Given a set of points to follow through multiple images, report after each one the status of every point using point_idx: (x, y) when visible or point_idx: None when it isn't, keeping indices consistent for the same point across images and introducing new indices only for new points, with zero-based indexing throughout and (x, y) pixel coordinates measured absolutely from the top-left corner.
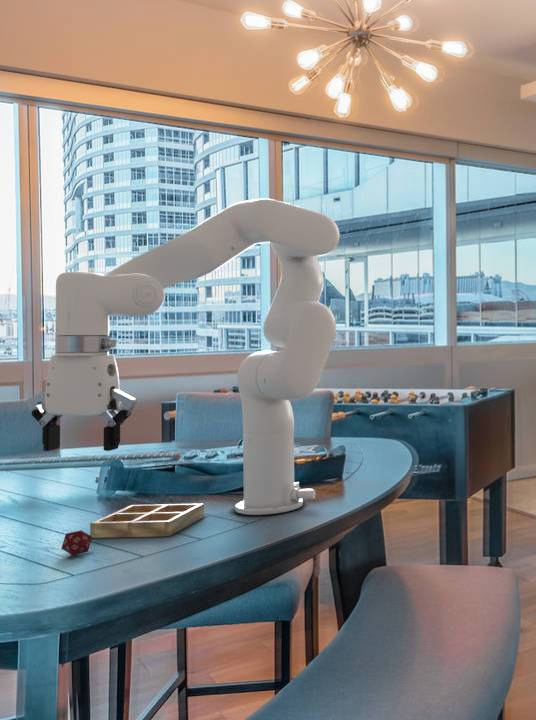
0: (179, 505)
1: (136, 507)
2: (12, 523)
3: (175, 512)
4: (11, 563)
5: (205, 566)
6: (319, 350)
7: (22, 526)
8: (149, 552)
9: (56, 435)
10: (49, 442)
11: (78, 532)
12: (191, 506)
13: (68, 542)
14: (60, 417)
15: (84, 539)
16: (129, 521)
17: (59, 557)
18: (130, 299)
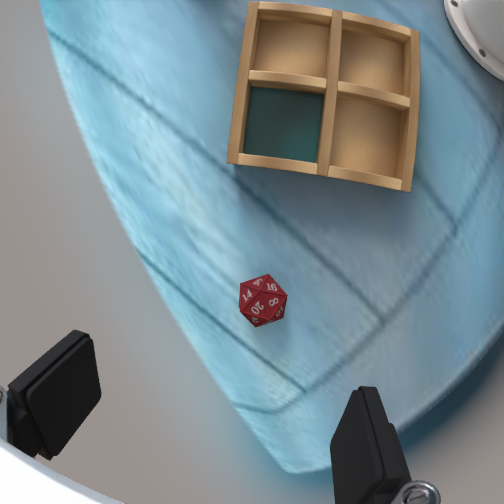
0: (369, 24)
1: (265, 11)
2: (57, 56)
3: (394, 99)
4: (175, 314)
5: (462, 375)
6: None
7: (75, 70)
8: (389, 299)
9: (64, 391)
10: (85, 410)
11: (266, 318)
12: (395, 33)
13: (256, 326)
14: (9, 435)
15: (280, 314)
16: (317, 164)
17: (238, 298)
18: None
